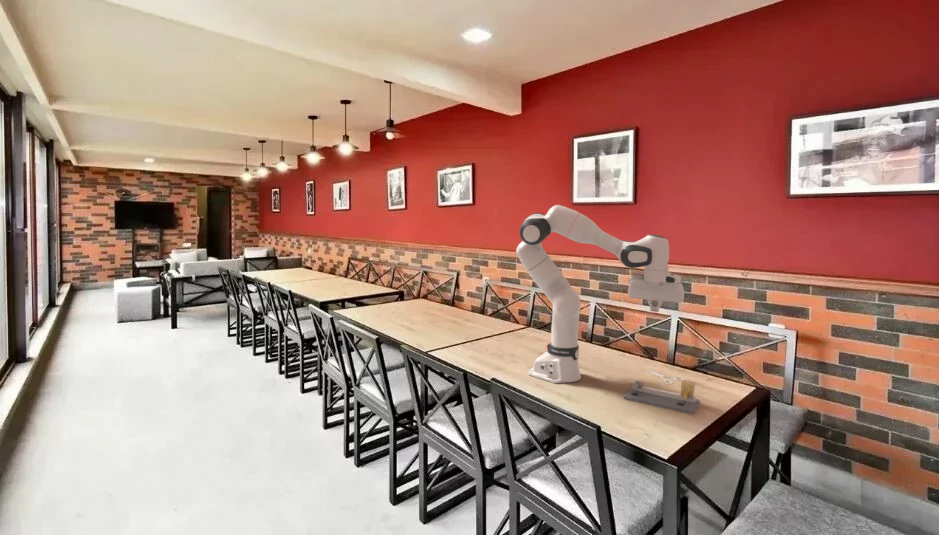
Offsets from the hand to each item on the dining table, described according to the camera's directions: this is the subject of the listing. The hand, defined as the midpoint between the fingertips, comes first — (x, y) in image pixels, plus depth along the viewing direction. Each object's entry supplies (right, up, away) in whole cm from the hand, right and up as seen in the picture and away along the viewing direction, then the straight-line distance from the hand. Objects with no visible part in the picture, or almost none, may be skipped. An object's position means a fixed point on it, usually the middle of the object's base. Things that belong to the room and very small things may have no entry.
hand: (654, 311), depth 176 cm
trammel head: (+6, -31, -13) cm, 34 cm away
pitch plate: (-1, -32, -9) cm, 34 cm away
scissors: (+10, -30, +17) cm, 36 cm away
